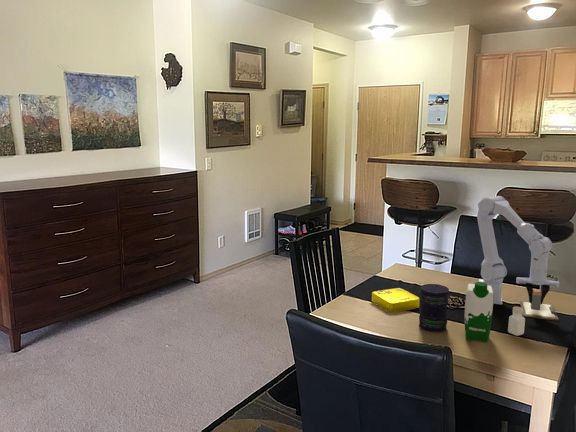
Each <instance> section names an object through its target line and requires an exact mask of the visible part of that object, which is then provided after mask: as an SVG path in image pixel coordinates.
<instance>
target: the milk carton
mask: <svg viewBox="0 0 576 432" xmlns="http://www.w3.org/2000/svg"><path fill="white" fill-rule="evenodd" d="M464 305H465V306H464V318H463V319H464V321H463V323H464V331H465V340H467V341H473V342H474V341H475V342H481V343H489V338H490V334H491V329H492V323H493V322H492V321H493V320H492V319H493V308H494V307H493V306H494V304H493V290H492V287H491V286H488V285H487V284H486V283H482V282H479V281H477V282H474V283H468V284H467V288H466V293H465V304H464Z"/></svg>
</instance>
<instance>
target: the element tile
mask: <svg viewBox="0 0 576 432" xmlns="http://www.w3.org/2000/svg"><path fill="white" fill-rule="evenodd" d="M420 298H421V297H419V296H417V295H415V294H413V293H412V292H409V291H407V290H405V289H403V288H400V287H396V288H388V289H382V290H375V291H372V292H371V302H372V303H373V304H375V305H376V304H377V305H376V306H378V307H380V308H381V309H383V311H386V312H388V313H398V312H403V311H410V310H416V308H417V309H419V308H420Z"/></svg>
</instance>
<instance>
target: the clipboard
mask: <svg viewBox="0 0 576 432" xmlns="http://www.w3.org/2000/svg"><path fill="white" fill-rule="evenodd" d="M519 304H520V307H521V308H523V314H522V317H524V318H525V317H526V318H532V319H533V318H534V319H540V320H550V321H557V322H558V321H560V319H559V317H558V315H557V311H556V308H555V307H554V306H553V304H550V303H549V304H546V303H542V304H540V310H533V309H531V307H530V305H531V303H529V301H524V300H519Z"/></svg>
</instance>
